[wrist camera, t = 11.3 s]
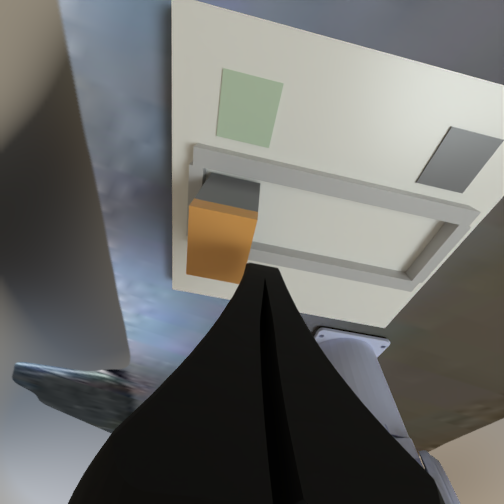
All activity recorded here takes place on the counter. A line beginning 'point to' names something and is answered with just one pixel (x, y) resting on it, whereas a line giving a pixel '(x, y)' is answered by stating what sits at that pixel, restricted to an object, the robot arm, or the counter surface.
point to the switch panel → (330, 158)
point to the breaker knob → (222, 228)
